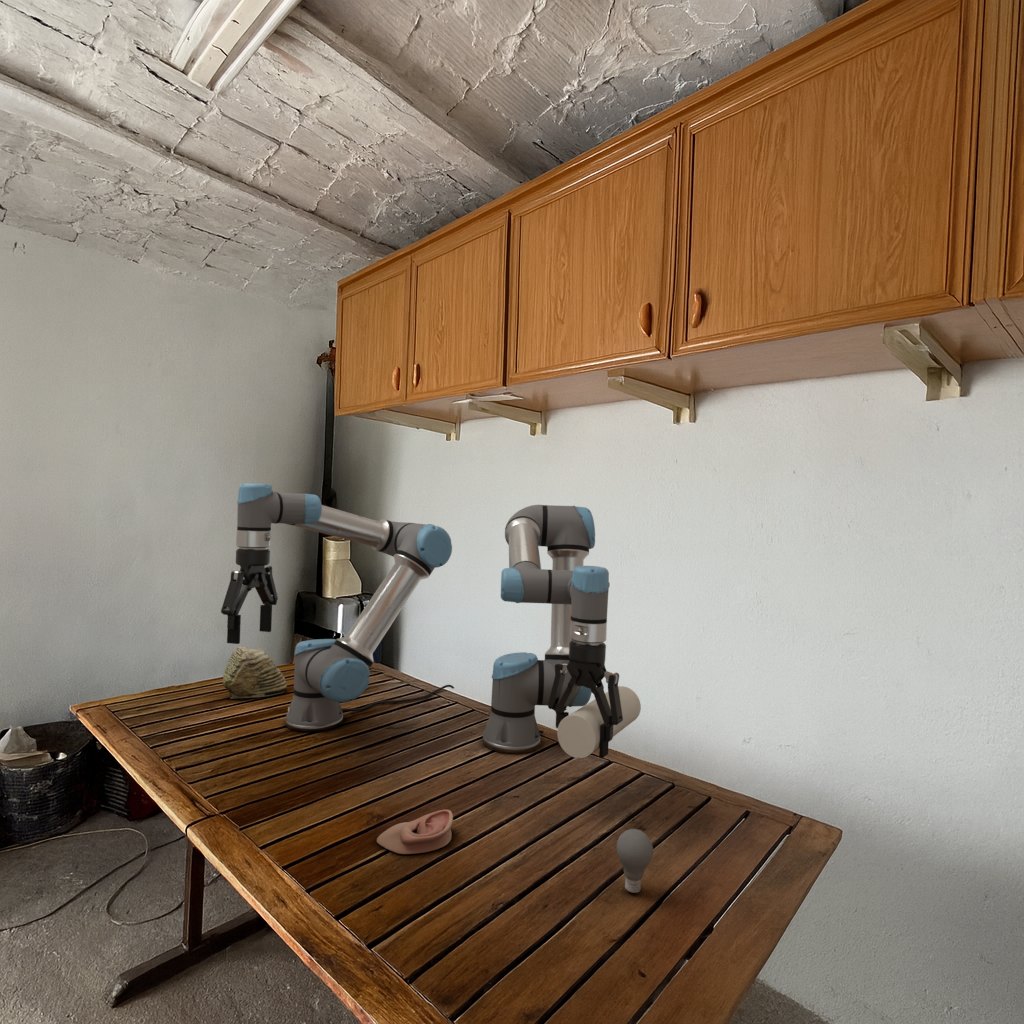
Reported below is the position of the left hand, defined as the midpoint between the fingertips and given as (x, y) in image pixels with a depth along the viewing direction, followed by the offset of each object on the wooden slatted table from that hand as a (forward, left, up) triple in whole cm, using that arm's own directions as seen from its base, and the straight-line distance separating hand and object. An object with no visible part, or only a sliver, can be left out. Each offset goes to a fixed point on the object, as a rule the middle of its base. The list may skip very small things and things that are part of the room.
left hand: (250, 637), depth 151 cm
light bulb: (-17, +94, -29) cm, 100 cm away
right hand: (-33, +74, -16) cm, 82 cm away
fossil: (-26, -42, -29) cm, 57 cm away
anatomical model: (-3, +56, -29) cm, 63 cm away
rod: (-42, +72, -16) cm, 85 cm away
